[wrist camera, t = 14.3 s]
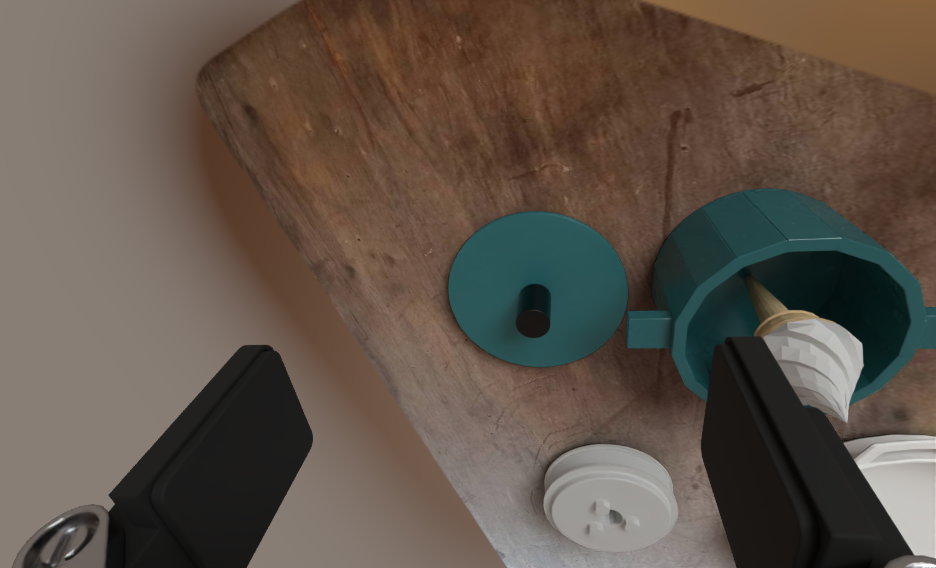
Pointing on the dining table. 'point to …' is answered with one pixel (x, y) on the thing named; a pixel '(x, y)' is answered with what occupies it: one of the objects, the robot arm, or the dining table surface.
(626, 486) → the lid
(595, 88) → the dining table surface
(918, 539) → the pan
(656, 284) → the pot
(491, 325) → the pot lid
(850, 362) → the ice cream cone
